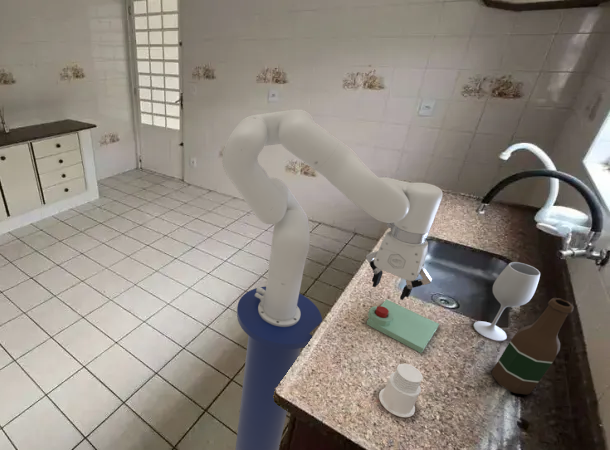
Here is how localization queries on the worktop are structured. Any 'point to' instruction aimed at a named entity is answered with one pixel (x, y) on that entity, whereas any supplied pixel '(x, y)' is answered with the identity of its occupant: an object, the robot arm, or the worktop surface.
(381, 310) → the button
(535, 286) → the wineglass
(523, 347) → the beer bottle
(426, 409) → the worktop surface
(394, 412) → the downlight
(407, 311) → the scale
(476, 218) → the worktop surface
